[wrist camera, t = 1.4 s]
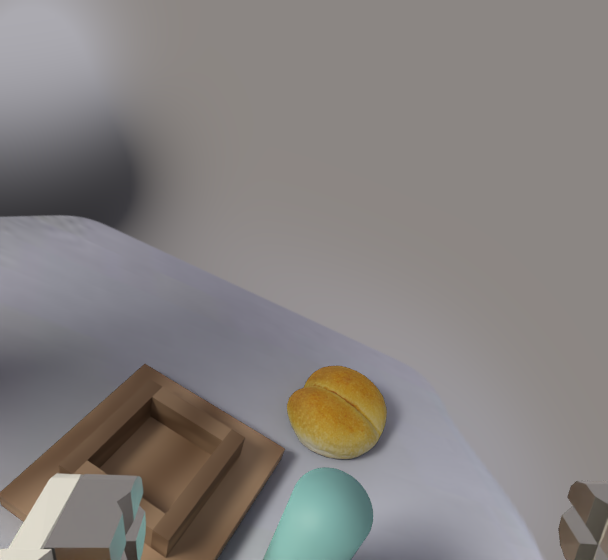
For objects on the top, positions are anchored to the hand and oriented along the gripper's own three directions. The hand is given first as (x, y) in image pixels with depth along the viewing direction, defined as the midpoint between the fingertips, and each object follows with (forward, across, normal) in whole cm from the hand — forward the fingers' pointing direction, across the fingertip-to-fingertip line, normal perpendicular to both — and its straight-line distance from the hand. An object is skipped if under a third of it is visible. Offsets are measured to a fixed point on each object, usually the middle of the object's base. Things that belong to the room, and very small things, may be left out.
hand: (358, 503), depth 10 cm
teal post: (+17, +1, +24) cm, 30 cm away
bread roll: (+31, -4, +21) cm, 38 cm away
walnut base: (+23, +10, +21) cm, 32 cm away
